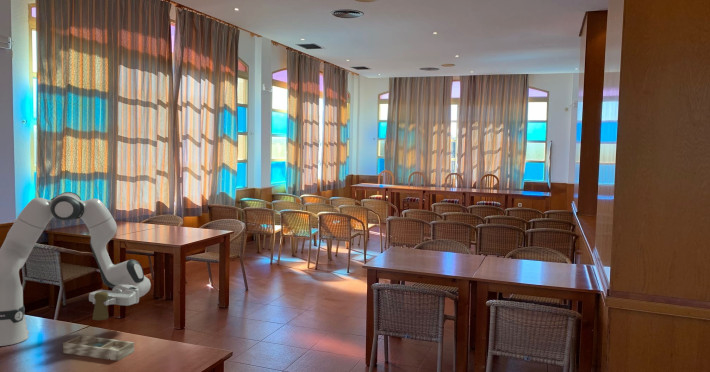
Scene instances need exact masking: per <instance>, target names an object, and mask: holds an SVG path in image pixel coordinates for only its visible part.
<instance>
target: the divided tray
mask: <svg viewBox="0 0 710 372" xmlns="http://www.w3.org/2000/svg"><path fill="white" fill-rule="evenodd" d="M62 346H63V347H62V350H63V351H62V352H63V354H68V355H73V356H74V355H77V356H82V357H88V358H89V357H90V358H97V359H102V360H103V359H104V360H109V359H110V361H121V360H122V359H124V358H126V357H128V356H130V355H132V354H134V353H135V342H134V341H126V340H120V339H119V340H118V339H113V338H112V339H110V338H104V337H97V336H89V335H88V336H87V335H79V336H77V337H74V338H72V339H70V340H68V341H65V342H63V343H62ZM129 354H130V355H129Z"/></svg>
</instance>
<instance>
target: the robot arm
mask: <svg viewBox="0 0 710 372" xmlns="http://www.w3.org/2000/svg"><path fill="white" fill-rule="evenodd" d="M24 206H25V207H23V209H22V210H21V211H20V213H19V214H18V216H17V217H16V219H15V220H14V222H13V224H12V226H10V228H9V230H8V232H7V234H6V237H5V239H4V241H3V243H2V245H1V246H0V347H4V346H6V347H7V346H10V345H16V344H18V343H21V342H23V341H26V340H28V339H29V334H30V331H29V330H28V327H27V326H28V325H27V321H26V320H27V319H26V316H25V310H26V309H25V305H24V291H23V290H24V287H23V286H22V283H21V278H20V270H21V269H22V268H23V267H24V265H25V264H26V262H27V260H28V259H29V256H30V254H31V253H32V251H33V249H34V246H35V245H36V243H37V242H38V240H39V239H40V237H41V236H42V233H43V232H44V231H45V229H46V227H47V226H48V224H49V222H50V221H51V220H52V219H54V218H55V219H57V220H59V221H63V222H64V221H66V222H67V221H72V220H79V219H81V220H82V221H83V222H84V224H85V226H86V228H87V229H88V231H89V235H90V239H89V245H90V249H91V252H92V254H93V257H94V259H95V262H96V264H97V266H98V269H99V271H100V275H101V280H102V283H103V284H104V285H105V286H107V287H109V288H111V290H107V289H100V290H95V291H92V292H89V294H88V301H89V302H91V303H92V305H95V301H96V300H95V299H94V295H95V294H96V293H97V292H106V293H107V294H108V298H107V300H105V301H104V302H103V303H104V304H103V305H107V306H110V305H116V306H117V305H118V306H131V305H132V306H133V305H134V304H136V305H137V304H139V302H140V298H141V297H144V296H145V295H146V294H147V293H148V292H149V291H150V290H151V287H152V284H151V280H150V279H149V278H148V277H146V276H145V274H144V273H145V272H144V268H143V266H142V264H141V263H140V262H139V261H137V260H136V259H133V258H132V259H131V258H130V259H128V260H125V261H123V262H120V263H116V264H114V263H113V262H112V260H111V258H110V256H109V255H110V254H109V252H108V250H107V245H108V243H109V242H110V241H111V240H112V239H113V238H114V237H115V235H116V233H117V231H118V230H117V229H118V226H117V222H116V220H115V219H114V217H113V215H112V214H111V212H110V210H109V209H108V208H107V207H106V205H105V204H104V203H103V202H102V200H101V199H98V198H90V199H86V200H83V199H81V197H80V196H79V195H78V194H77V193H75V192H73V191H72V192H71V191H65V192H62V193H60V194H58V195H56V196H55V197H52V198H51V199H46V198H43V197H35V198H32V199H31V200H30V201H29V202H28V203H27V204H26V205H24Z"/></svg>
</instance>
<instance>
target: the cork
mask: <svg viewBox="0 0 710 372" xmlns="http://www.w3.org/2000/svg"><path fill="white" fill-rule="evenodd" d="M107 298H108V294H107V293H106V292H97V293H96V294H95V295H94V299H95V300H96V301H95V304H94V307H93V313H92V318H91V319H92V320H93V321H105V320H107V319H109V311H108V310H109V309H108V305H103V304H104V303H103V302H104V301H105V300H107Z"/></svg>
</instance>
